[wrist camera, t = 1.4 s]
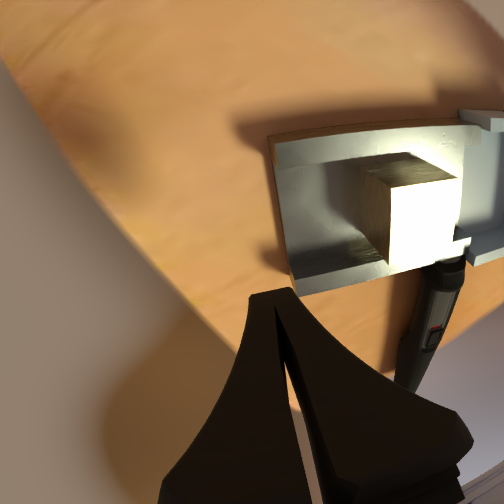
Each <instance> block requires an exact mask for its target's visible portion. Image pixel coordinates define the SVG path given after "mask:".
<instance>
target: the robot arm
mask: <svg viewBox="0 0 504 504" xmlns="http://www.w3.org/2000/svg"><path fill="white" fill-rule="evenodd" d="M284 362H285V364H284ZM285 365H286V368H287V371H288V374H289V376H290V379H291V382H292V385H293V388H294V391H295V394H296V397H297V400H298V403H299V406H300V408H301V411H302V414H303V417H304V421H305V424H306V429H307V432H308V437H309V441H310V446H311V450H312V454H313V459H314V464H315V468H316V473H317V477H318V482H319V486H320V491H321V495H322V501H323V504H504V460H503V461H502V462H501V463H499V464H498V465H496V466H495V467H493V468H492V469H490V470H489V471H487V472H485V473H484V474H482V475H480V476H479V477H477V478H475V479H474V480H472V481H470V482H469V483H467V484H465V485H463V486H460V484H459V481H458V479H457V477H458V476H460V471H459V469H458V467H457V465H456V464H457V463H458V462H459V461H460V460H461V459H462V458H463V457H464V456H465V455H466V454H467V453H468V452H469V450H470V449H471V448H472V446H473V442H474V440H473V438H472V436H471V434H470V432H469V430H468V428H467V427H466V425H465V423H464V422H463V421H462V419H461V418H460V417H459V415H458V414H457V413H456V412H455V411H453V410H450V409H448V408H445V407H443V406H440V405H438V404H435V403H433V402H431V401H429V400H427V399H424V398H422V397H420V396H418V395H417V394H415V393H413V392H411V391H409V390H407V389H405V388H403V387H402V386H400V385H398V384H397V383H395V382H393V381H392V380H390V379H388V378H387V377H385V376H383V375H382V374H380V373H379V372H377V371H376V370H374V369H373V368H371V367H370V366H369V365H367V364H366V363H364V362H363V361H362V360H360V359H359V358H358V357H357V356H355V355H354V354H353V353H352V352H350V351H349V350H348V349H347V348H346V347H344V346H343V345H342V344H341V343H340V342H339V341H338V340H337V339H336V338H335V337H333V336H332V335H331V334H330V333H329V332H328V331H327V330H326V329H325V328H324V327H323V326H322V325H321V324H320V322H319V321H318V320H317V319H316V318H315V317H314V316H313V315H312V314H311V313H310V312H309V310H308V309H307V308H306V307H305V306H304V304H303V303H302V302H301V301H300V299H299V298H298V296H297V295H296V294H295V292H294V291H293V289H292V288H290V287H285V288H280V289H276V290H271V291H266V292H261V293H257V294H252V295H251V296H250V297H249V305H248V314H247V319H246V324H245V329H244V332H243V336H242V340H241V344H240V347H239V350H238V353H237V356H236V359H235V362H234V365H233V368H232V370H231V373H230V375H229V377H228V380H227V382H226V384H225V387H224V389H223V391H222V393H221V395H220V397H219V399H218V401H217V403H216V405H215V406H214V408H213V410H212V412H211V414H210V416H209V417H208V419H207V421H206V422H205V424H204V425H203V427H202V429H201V430H200V432H199V433H198V435H197V436H196V438H195V439H194V441H193V442H192V444H191V445H190V446H189V448H188V449H187V451H186V452H185V453H184V454H183V456H182V457H181V458H180V459H179V461H178V462H177V463H176V464H175V466H174V467H173V468H172V469H171V470H170V472H169V473H168V474H167V475H166V476H165V477H164V479H163V480H162V484H161V488H160V493H159V499H158V504H312V500H311V495H310V491H309V487H308V482H307V478H306V474H305V469H304V465H303V461H302V457H301V452H300V448H299V444H298V440H297V435H296V431H295V427H294V422H293V418H292V414H291V409H290V405H289V398H288V389H287V381H286V372H285Z"/></svg>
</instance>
